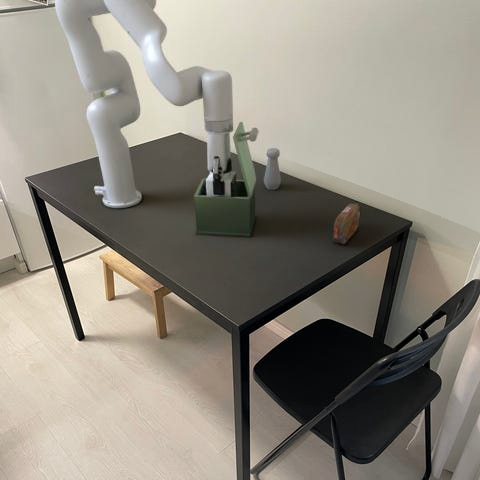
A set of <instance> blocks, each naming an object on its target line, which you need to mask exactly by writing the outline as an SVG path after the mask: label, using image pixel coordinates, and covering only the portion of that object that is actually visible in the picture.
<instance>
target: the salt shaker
mask: <svg viewBox="0 0 480 480" xmlns="http://www.w3.org/2000/svg"><path fill="white" fill-rule="evenodd" d="M280 151H281V150H280V149H279V148H277V147H270V148H267V150H266V157H267V162H266V167H265V172H264V176H263V184H264V186H265V188H266V189H267V190H273V191H275V190H277V189H279V187H280V185H281V181H282V178H281V171H280V166H279V164H280V163H279V157H280V156H281V155H280V154H281V152H280Z"/></svg>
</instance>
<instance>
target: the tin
mask: <svg viewBox="0 0 480 480" xmlns="http://www.w3.org/2000/svg"><path fill="white" fill-rule="evenodd" d="M361 216H362V206H361V204H360V203H355V202H353V203H352V202H350V203H348V204H347V206H345V207H344V208H343V209H342V210H341V211H340V212H339V214H338V215H337V216H336V218H335V221H334V223H333V233H332V240H333V241H334V242H335V243H337V244H341V245H345V244H346V243H347V242H348V241H349V240H350V238H352V236H353V235H354V234H355V233H356V232H357V230H358V228H359V225H360V221H361Z"/></svg>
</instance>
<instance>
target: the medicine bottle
mask: <svg viewBox="0 0 480 480" xmlns="http://www.w3.org/2000/svg"><path fill="white" fill-rule="evenodd" d="M232 162H233V160H232V159H231V157H230V158H229V159H228V162H227V168H226V170H225V171H224V176H223V181H224V182H225V195H214V194H213V169H212V170H211V171H209V174H208V176H207V177H206V178H205V179H206V189H207V196H227V197H236V194H237V193H236V180H237V171H233V165H232V164H233V163H232ZM219 170H222V168H221V167H219ZM219 174H220V176H221V172H219Z"/></svg>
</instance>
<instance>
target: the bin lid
mask: <svg viewBox="0 0 480 480" xmlns="http://www.w3.org/2000/svg"><path fill="white" fill-rule="evenodd" d="M259 132H260V131H259V129H258V128H257V127H252V128H251V130H249V131H245V127H244V122H243V121H239V123H238V124H237V126H236V129H235V132H234V134H233V136H232V141H233V143H234V147H235V151H236V155H237V159H238V162H239V167H240V170H241V175H242V178H243V180H244V182H245V186H246V190H247V193H248V197H251V196H252V192H253V189H254V185H255V186H256V182H257V175H256V170H255V167H254V163H253V159H252V155H251V151H250V147H249V144H248V141H250V142H252V143H253V142H256V140H257V138H258V136H259Z"/></svg>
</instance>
